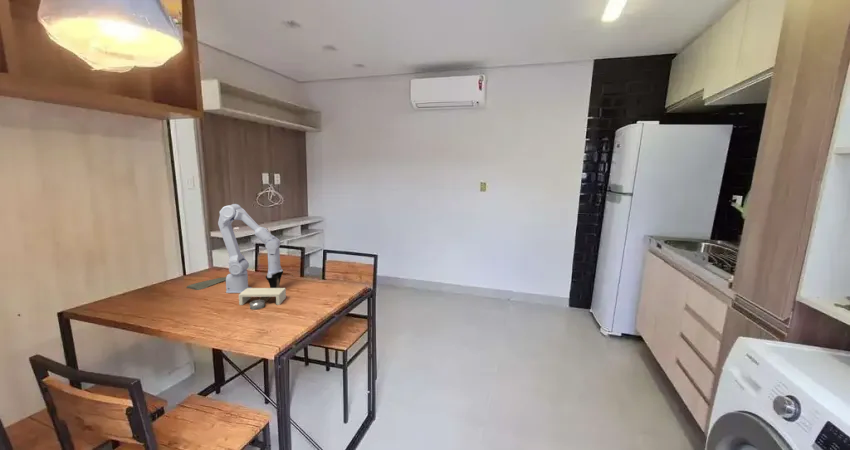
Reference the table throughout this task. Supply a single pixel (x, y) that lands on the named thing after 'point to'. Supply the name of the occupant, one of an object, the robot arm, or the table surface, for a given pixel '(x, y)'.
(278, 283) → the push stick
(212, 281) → the stone slab
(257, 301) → the steel token
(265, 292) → the plinth shelf
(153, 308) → the table surface
